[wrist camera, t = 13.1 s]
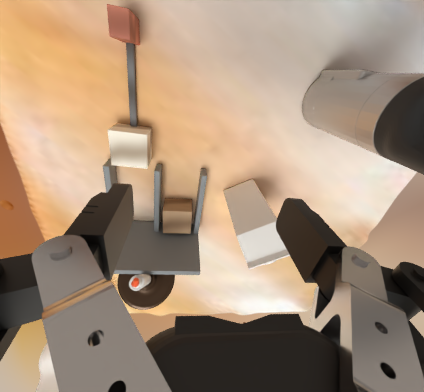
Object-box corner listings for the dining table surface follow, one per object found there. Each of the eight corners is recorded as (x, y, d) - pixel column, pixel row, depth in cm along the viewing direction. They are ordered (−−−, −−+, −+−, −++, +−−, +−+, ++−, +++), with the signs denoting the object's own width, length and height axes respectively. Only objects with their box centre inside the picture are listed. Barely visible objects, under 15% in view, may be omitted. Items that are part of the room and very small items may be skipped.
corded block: (107, 12, 28) (90, 0, 23) (151, 22, 29) (144, 12, 24) (119, 154, 39) (109, 167, 34) (151, 158, 40) (146, 171, 35)
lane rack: (109, 158, 39) (74, 197, 27) (205, 168, 42) (212, 206, 30) (116, 222, 47) (92, 273, 35) (196, 227, 50) (199, 275, 38)
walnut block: (165, 197, 45) (162, 210, 41) (191, 199, 46) (192, 211, 42) (165, 218, 48) (163, 233, 44) (190, 219, 49) (190, 233, 45)
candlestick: (162, 249, 56) (159, 218, 24) (178, 286, 54) (199, 306, 22) (123, 267, 53) (59, 261, 21) (138, 308, 50) (93, 373, 18)
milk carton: (222, 190, 45) (242, 255, 29) (252, 178, 45) (289, 238, 28) (232, 212, 49) (254, 281, 33) (260, 202, 48) (296, 267, 32)
